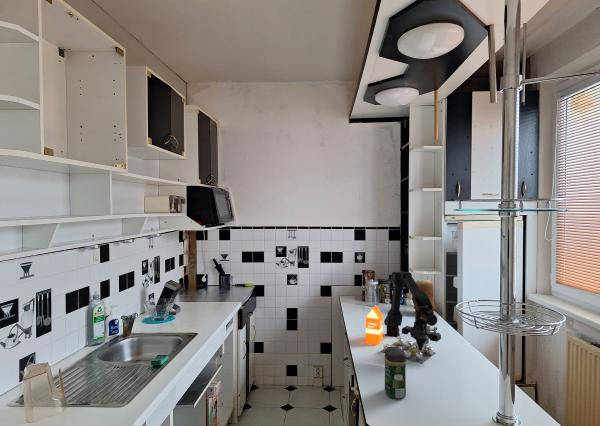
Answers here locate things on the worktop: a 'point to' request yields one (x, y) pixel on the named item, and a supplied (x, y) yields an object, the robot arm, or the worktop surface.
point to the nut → (413, 350)
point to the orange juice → (374, 327)
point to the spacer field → (426, 350)
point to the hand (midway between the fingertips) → (420, 350)
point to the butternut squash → (427, 290)
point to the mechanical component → (430, 332)
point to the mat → (413, 357)
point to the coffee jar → (395, 373)
